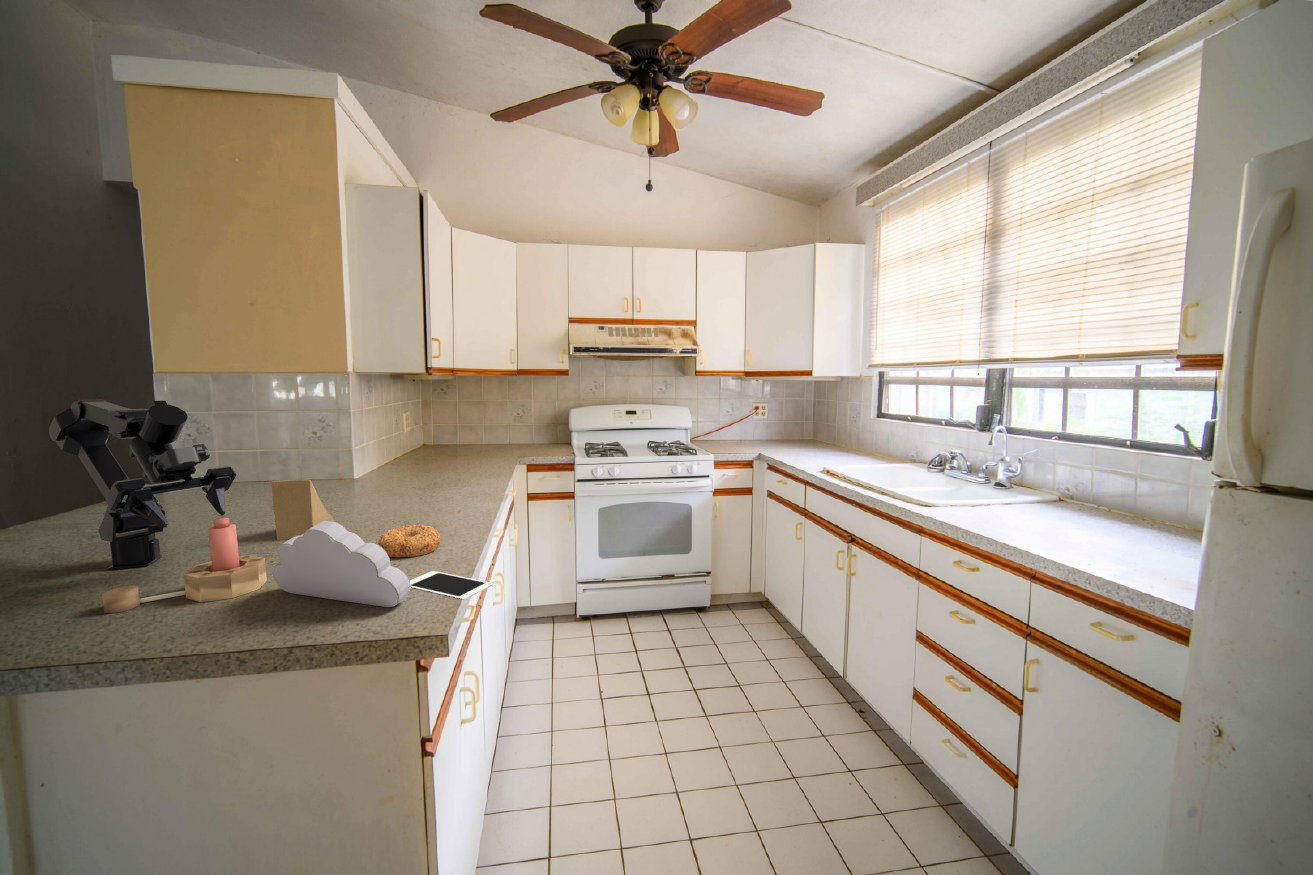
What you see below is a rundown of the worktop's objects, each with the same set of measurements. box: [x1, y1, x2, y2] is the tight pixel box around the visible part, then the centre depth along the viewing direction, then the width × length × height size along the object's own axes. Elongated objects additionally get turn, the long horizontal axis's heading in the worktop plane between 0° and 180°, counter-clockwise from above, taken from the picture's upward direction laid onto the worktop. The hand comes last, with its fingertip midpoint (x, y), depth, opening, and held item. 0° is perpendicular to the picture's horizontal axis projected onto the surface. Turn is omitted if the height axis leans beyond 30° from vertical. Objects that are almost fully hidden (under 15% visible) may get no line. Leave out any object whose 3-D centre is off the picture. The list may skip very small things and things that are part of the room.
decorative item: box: [271, 520, 412, 608], centre depth 95 cm, size 28×10×15 cm, turn 74°
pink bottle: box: [207, 517, 240, 572], centre depth 99 cm, size 4×4×14 cm
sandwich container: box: [271, 478, 335, 541], centre depth 137 cm, size 9×15×15 cm, turn 14°
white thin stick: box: [139, 589, 186, 604], centre depth 95 cm, size 12×1×1 cm, turn 128°
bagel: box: [377, 524, 441, 558], centre depth 122 cm, size 13×14×5 cm
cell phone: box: [409, 570, 493, 601], centre depth 102 cm, size 8×16×1 cm, turn 65°
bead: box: [183, 554, 268, 603], centre depth 99 cm, size 11×11×4 cm
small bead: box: [101, 585, 141, 614], centre depth 91 cm, size 4×4×3 cm
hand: (196, 519), depth 101 cm, fingers open, 9 cm apart
